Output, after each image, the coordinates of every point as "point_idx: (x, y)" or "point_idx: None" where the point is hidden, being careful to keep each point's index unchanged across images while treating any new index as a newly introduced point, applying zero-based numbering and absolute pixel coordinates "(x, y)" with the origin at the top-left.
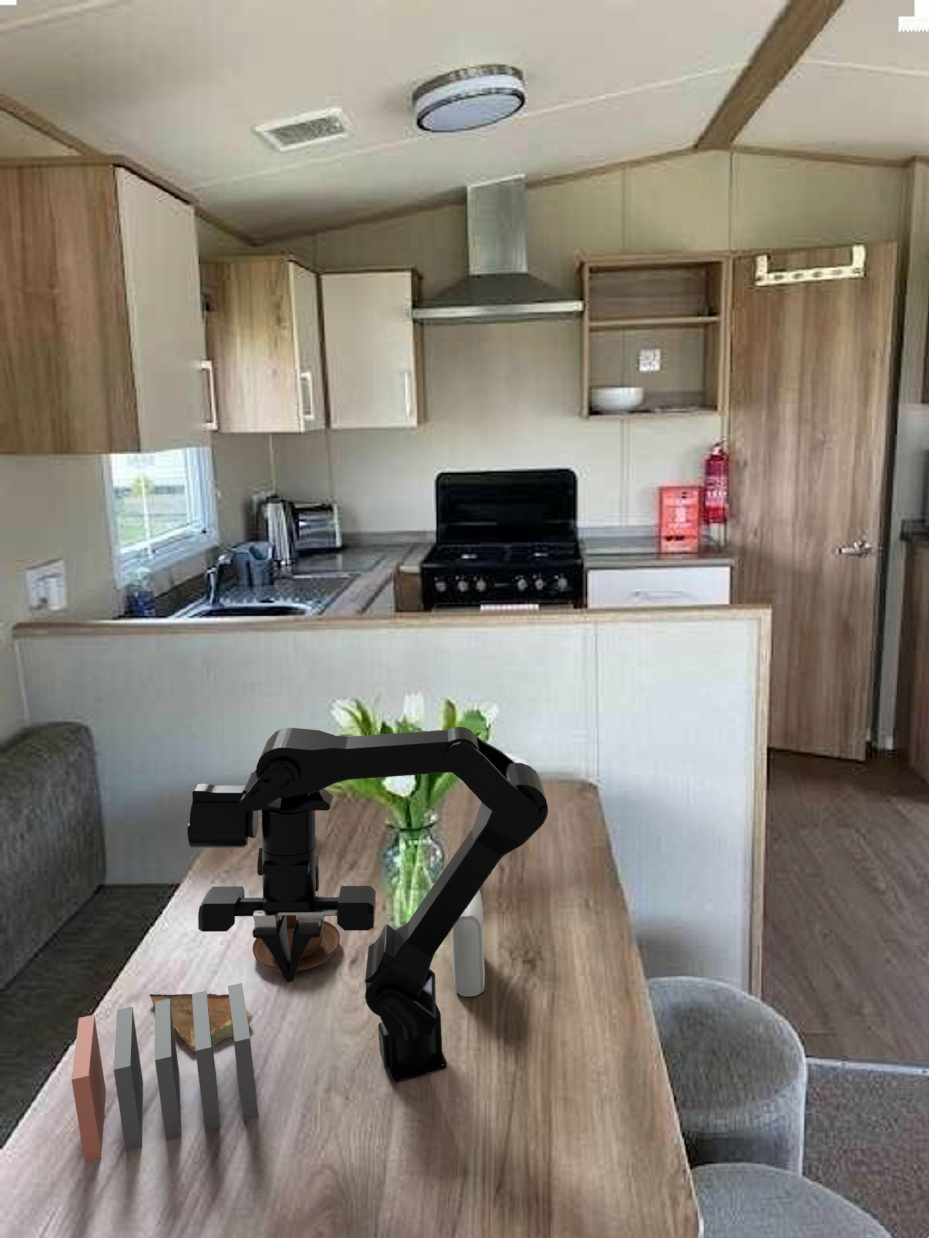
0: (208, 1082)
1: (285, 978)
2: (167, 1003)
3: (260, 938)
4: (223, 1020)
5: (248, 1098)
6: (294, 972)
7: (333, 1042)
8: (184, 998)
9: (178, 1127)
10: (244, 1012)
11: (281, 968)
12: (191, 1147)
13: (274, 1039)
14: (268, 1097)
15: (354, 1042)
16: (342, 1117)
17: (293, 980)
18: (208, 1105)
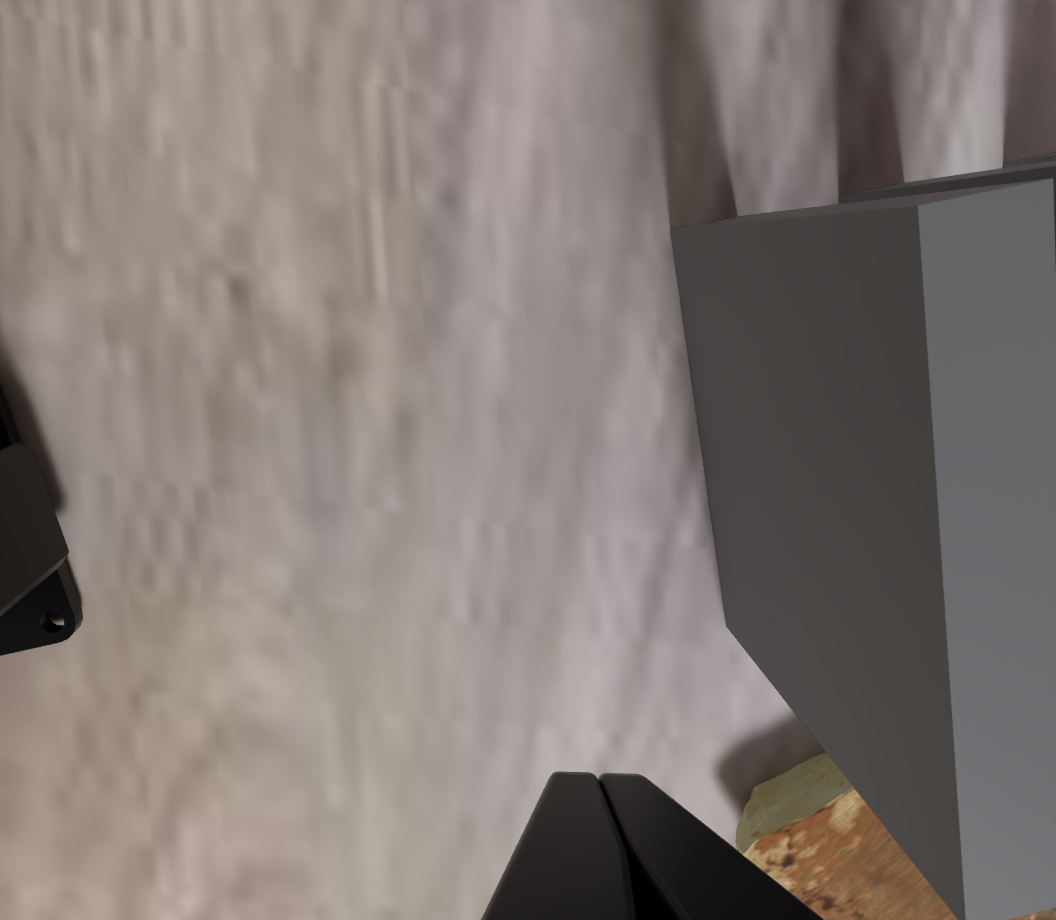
0: (1046, 164)
1: (660, 800)
2: None
3: None
4: (869, 824)
5: (747, 218)
6: (543, 849)
7: (339, 677)
8: None
9: (1048, 155)
10: (958, 569)
11: (772, 906)
12: (960, 85)
13: (620, 721)
14: (629, 352)
15: (232, 667)
16: (252, 154)
17: (550, 782)
18: (957, 176)
